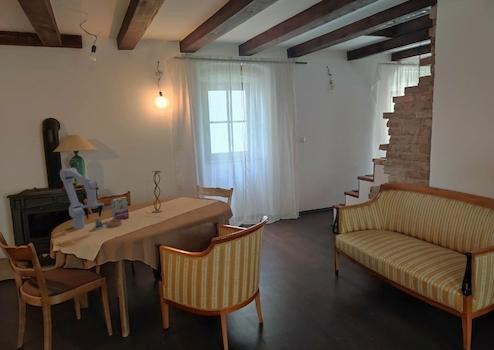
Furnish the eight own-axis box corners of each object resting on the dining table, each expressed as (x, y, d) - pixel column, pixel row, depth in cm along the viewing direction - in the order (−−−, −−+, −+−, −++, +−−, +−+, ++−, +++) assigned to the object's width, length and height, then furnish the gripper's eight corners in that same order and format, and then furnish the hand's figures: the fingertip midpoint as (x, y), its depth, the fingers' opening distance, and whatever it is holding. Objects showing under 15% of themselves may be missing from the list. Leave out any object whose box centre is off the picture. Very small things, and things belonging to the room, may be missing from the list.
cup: (106, 225, 268) (106, 221, 267) (119, 223, 273) (119, 218, 273) (109, 228, 260) (109, 224, 260) (123, 226, 265) (123, 221, 265)
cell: (95, 227, 261) (94, 219, 260) (101, 226, 263) (100, 218, 262) (96, 229, 258) (95, 220, 257) (102, 228, 260) (101, 219, 259)
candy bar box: (125, 217, 291) (123, 196, 289) (129, 218, 288) (127, 197, 286) (112, 220, 283) (110, 199, 281) (115, 221, 280) (113, 200, 277)
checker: (90, 228, 262) (89, 226, 262) (104, 226, 268) (104, 223, 267) (93, 232, 254) (93, 229, 253) (108, 229, 259) (107, 226, 259)
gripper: (81, 200, 243) (83, 220, 245) (104, 197, 251) (106, 216, 253) (79, 199, 249) (81, 218, 251) (102, 196, 257) (103, 214, 259)
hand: (93, 217), depth 252 cm, fingers open, 7 cm apart
